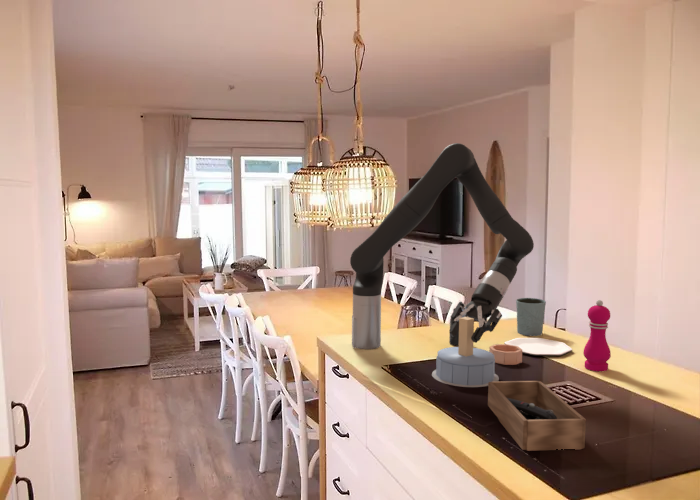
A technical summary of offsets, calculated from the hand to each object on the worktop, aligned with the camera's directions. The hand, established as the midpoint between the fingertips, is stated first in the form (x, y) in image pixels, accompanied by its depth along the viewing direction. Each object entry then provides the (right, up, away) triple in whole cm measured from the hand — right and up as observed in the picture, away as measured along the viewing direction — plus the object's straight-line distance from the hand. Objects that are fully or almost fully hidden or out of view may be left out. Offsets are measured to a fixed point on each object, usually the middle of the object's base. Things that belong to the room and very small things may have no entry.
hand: (462, 337), depth 156 cm
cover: (+1, -11, +2) cm, 11 cm away
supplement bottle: (+6, -8, +35) cm, 37 cm away
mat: (+1, -11, +2) cm, 11 cm away
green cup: (+34, -6, +51) cm, 62 cm away
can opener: (+8, -15, -29) cm, 34 cm away
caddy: (+9, -15, -30) cm, 35 cm away
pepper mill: (+41, -11, +11) cm, 43 cm away
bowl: (+16, -10, +17) cm, 25 cm away
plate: (+30, -9, +31) cm, 44 cm away
